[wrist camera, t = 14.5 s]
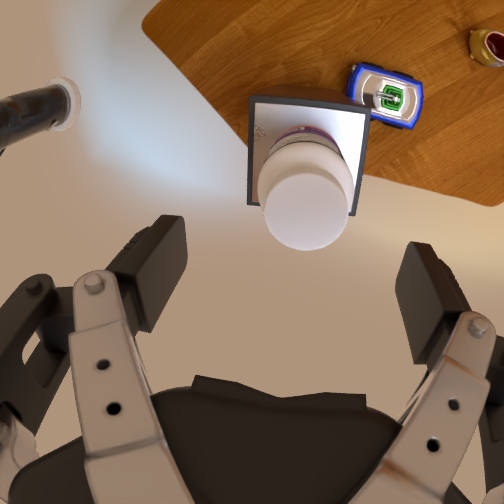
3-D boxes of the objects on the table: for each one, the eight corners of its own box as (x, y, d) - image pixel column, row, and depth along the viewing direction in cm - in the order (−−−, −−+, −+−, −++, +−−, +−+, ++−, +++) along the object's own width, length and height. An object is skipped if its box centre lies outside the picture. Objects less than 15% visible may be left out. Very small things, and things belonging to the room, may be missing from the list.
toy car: (349, 59, 39) (359, 55, 31) (418, 79, 38) (441, 82, 31) (340, 112, 44) (348, 120, 37) (408, 130, 44) (428, 143, 36)
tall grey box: (276, 138, 49) (245, 209, 25) (278, 84, 44) (248, 95, 20) (330, 143, 48) (355, 221, 24) (335, 90, 43) (372, 108, 19)
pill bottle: (330, 199, 24) (341, 274, 16) (263, 182, 24) (239, 248, 16) (350, 135, 21) (379, 177, 12) (278, 115, 21) (260, 144, 13)
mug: (464, 57, 34) (483, 58, 28) (466, 23, 30) (484, 20, 25) (513, 81, 33) (534, 85, 27) (516, 49, 29) (536, 50, 23)
